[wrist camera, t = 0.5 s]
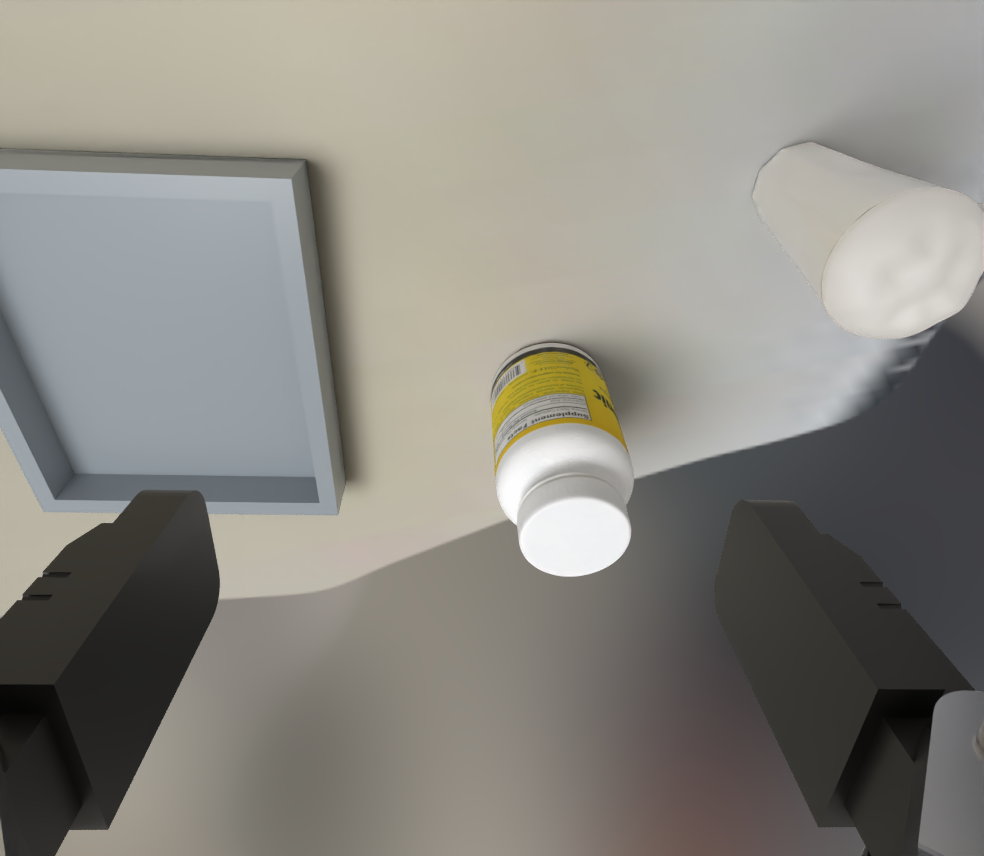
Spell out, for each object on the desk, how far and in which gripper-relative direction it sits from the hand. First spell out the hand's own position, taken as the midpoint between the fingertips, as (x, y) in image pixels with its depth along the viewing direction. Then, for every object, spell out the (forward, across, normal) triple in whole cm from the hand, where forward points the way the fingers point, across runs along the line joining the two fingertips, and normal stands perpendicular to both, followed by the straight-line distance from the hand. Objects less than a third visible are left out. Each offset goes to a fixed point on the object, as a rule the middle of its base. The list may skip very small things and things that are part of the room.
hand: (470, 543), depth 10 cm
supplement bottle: (+20, -4, +6) cm, 21 cm away
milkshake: (+18, -13, -4) cm, 23 cm away
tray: (+20, +13, +4) cm, 24 cm away
